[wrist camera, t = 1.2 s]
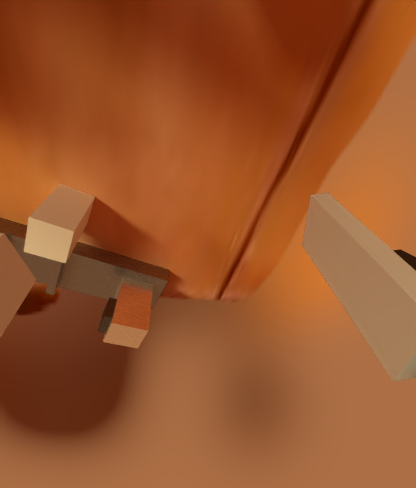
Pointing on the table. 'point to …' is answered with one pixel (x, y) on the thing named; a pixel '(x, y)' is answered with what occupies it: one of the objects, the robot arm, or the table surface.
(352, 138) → the table surface
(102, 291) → the rail
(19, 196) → the table surface
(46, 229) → the cream rectangular block
